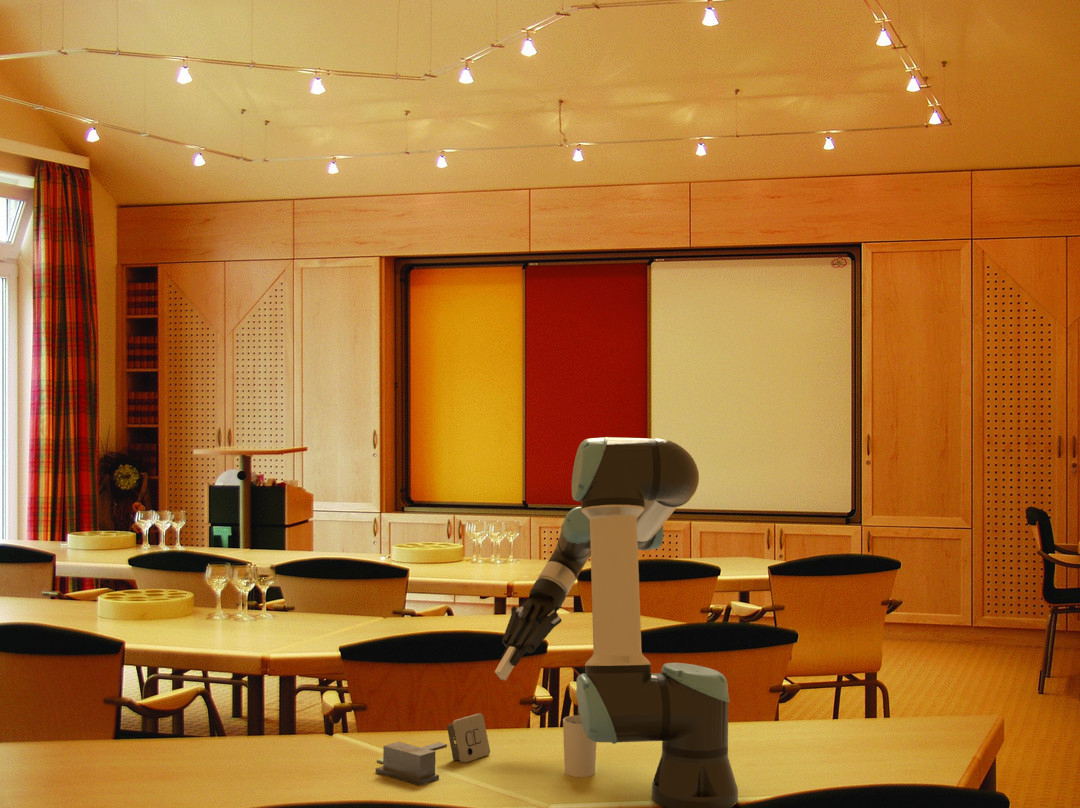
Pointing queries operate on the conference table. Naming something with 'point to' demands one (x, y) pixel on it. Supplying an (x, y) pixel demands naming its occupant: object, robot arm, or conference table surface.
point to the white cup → (578, 749)
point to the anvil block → (408, 763)
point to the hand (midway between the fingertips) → (500, 675)
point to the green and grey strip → (430, 747)
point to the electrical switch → (468, 738)
